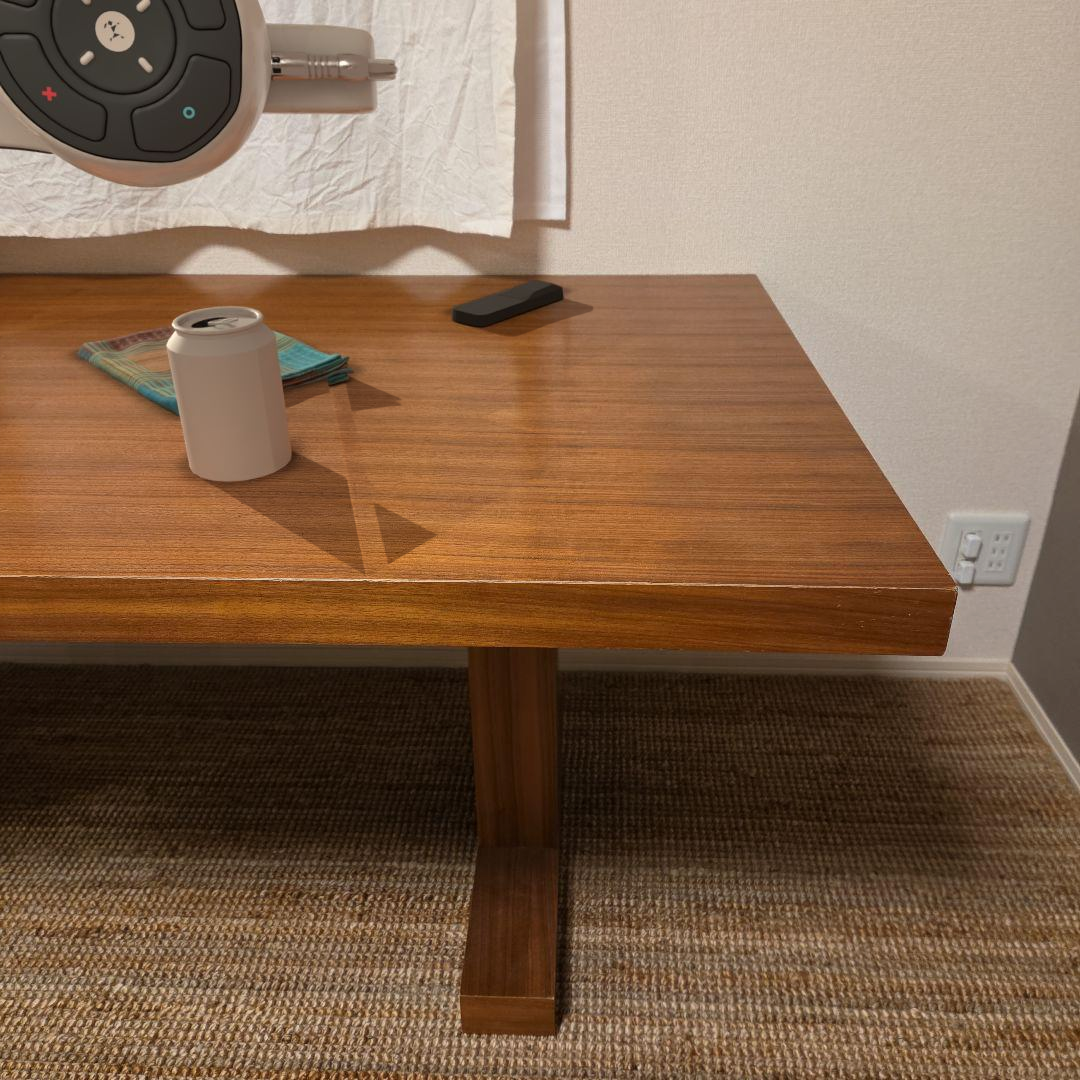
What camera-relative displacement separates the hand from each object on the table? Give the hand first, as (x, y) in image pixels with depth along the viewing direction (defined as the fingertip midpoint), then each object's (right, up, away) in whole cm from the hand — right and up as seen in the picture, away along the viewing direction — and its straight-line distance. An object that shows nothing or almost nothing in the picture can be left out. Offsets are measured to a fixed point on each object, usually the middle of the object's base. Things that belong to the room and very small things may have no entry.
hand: (172, 77), depth 54 cm
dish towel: (-12, -9, +42) cm, 45 cm away
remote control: (+16, +1, +60) cm, 62 cm away
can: (-3, -20, +23) cm, 30 cm away
